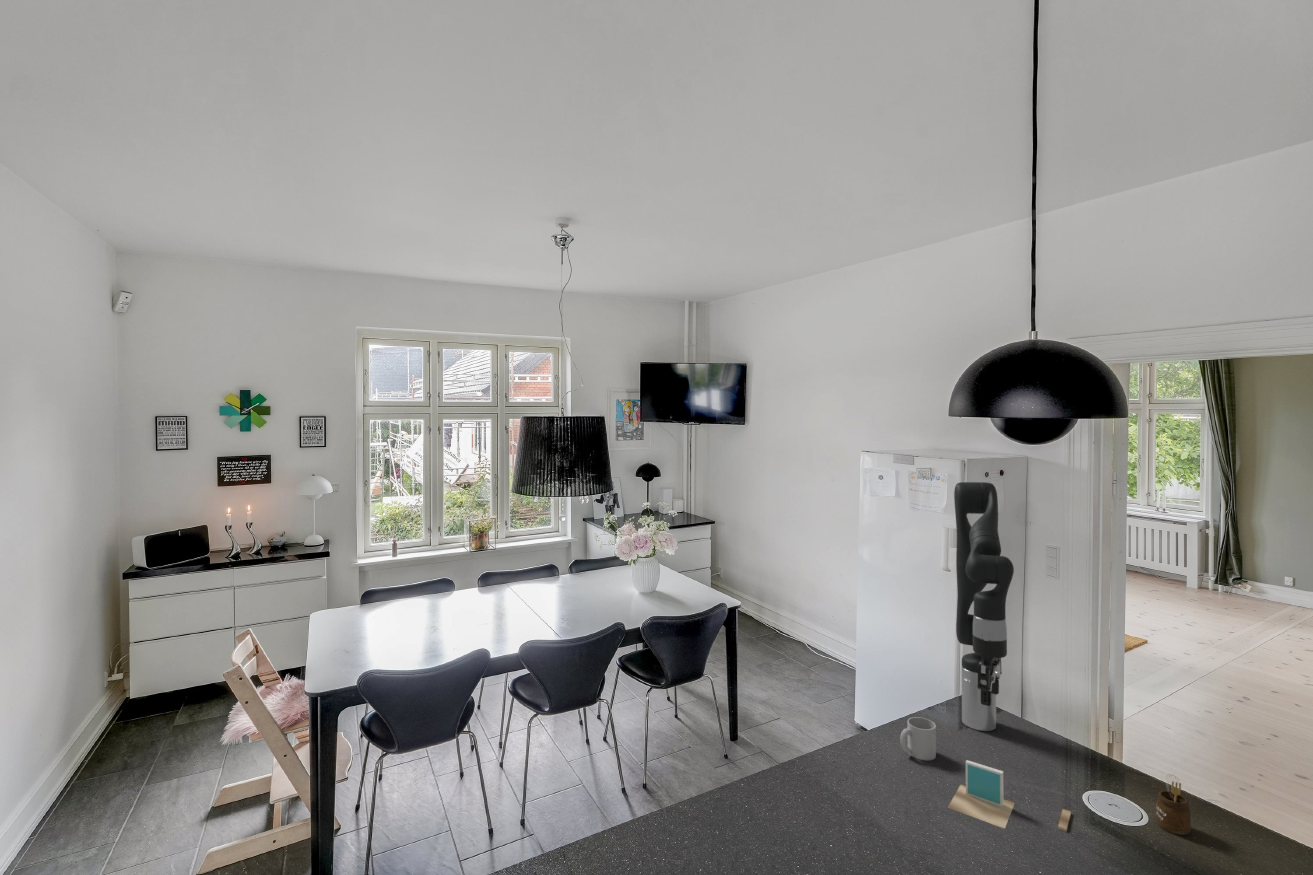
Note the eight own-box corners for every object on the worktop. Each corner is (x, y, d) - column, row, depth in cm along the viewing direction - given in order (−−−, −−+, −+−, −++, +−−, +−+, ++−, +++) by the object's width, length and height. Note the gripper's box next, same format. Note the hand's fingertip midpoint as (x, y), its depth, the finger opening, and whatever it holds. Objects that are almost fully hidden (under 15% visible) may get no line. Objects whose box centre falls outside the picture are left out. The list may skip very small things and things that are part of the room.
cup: (941, 760, 164) (941, 728, 164) (908, 764, 163) (908, 731, 163) (925, 746, 172) (925, 715, 171) (893, 750, 170) (893, 719, 170)
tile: (966, 791, 149) (966, 759, 149) (1003, 804, 144) (1003, 771, 144) (965, 794, 148) (965, 762, 148) (1002, 807, 143) (1002, 773, 143)
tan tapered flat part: (1055, 811, 142) (1055, 806, 142) (1078, 818, 140) (1078, 813, 140) (1047, 840, 133) (1047, 834, 132) (1071, 849, 130) (1071, 843, 130)
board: (960, 786, 153) (960, 784, 153) (1015, 804, 145) (1015, 802, 145) (947, 809, 143) (947, 807, 143) (1004, 830, 136) (1004, 828, 136)
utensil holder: (1187, 823, 137) (1187, 771, 137) (1194, 840, 132) (1194, 785, 132) (1153, 815, 140) (1153, 764, 140) (1159, 831, 135) (1159, 778, 135)
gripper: (980, 624, 159) (980, 686, 159) (965, 638, 148) (966, 704, 148) (1012, 630, 154) (1012, 693, 154) (1000, 645, 144) (1000, 713, 144)
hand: (990, 698), depth 151 cm, fingers open, 8 cm apart
